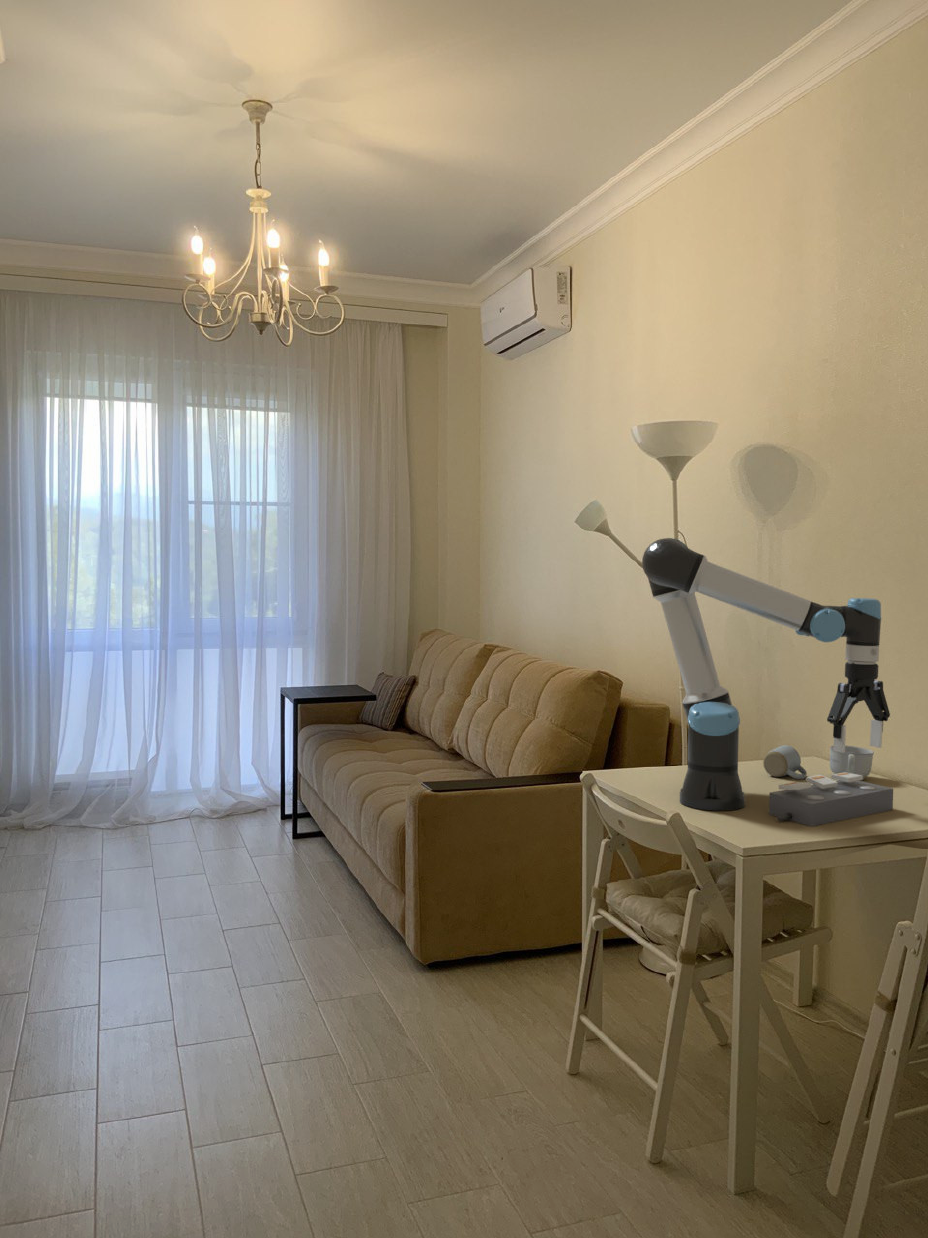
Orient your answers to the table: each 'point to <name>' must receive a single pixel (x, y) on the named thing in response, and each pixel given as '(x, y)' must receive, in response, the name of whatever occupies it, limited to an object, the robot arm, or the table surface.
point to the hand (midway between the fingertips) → (857, 749)
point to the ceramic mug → (784, 762)
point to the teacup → (851, 761)
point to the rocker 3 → (846, 777)
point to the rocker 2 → (821, 781)
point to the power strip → (830, 802)
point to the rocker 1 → (794, 786)
